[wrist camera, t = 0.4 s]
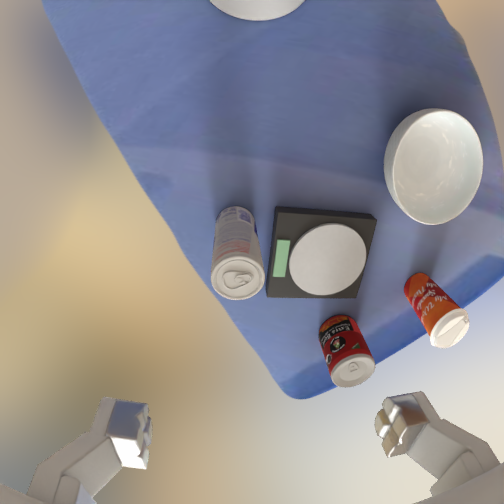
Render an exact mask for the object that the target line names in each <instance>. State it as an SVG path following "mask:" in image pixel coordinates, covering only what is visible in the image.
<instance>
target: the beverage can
mask: <svg viewBox="0 0 504 504" xmlns="http://www.w3.org/2000/svg"><path fill="white" fill-rule="evenodd" d="M264 281H265V273H264V267H263V262H262V256H261V251H260V246H259V241H258V235H257V230H256V225H255V220H254V217H253V215H252V214H251V213H250V212H249V211H248V210H247V209H245V208H242V207H237V206H234V207H229V208H226V209H225V210H223V211H222V212H221V213H220V214H219V215H218V217H217V219H216V226H215V236H214V246H213V256H212V267H211V282H212V285H213V287H214V289H215V290H216V292H217V293H219V294H220V295H221V296H223V297H225V298H228V299H232V300H242V299H247V298H250V297H252V296H254V295H255V294H256V293H258V292H259V291H260V289H261V288H262V286H263V284H264Z"/></svg>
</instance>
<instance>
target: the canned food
mask: <svg viewBox="0 0 504 504" xmlns="http://www.w3.org/2000/svg"><path fill="white" fill-rule="evenodd" d="M319 341H320V344H321V347H322V351H323V354H324V357H325V360H326V363H327V366H328V370H329V373H330V376H331V379H332V381H333V383H334V384H335V385H337V386H339V387H353V386H356V385H359V384H361V383H363V382H364V381H366V380H367V379H368V378H369V377H370V376H371V375H372V374H373V372H374V370H375V362H374V359H373V357H372V354H371V352H370V350H369V348H368V346H367V344H366V342H365V340H364V338H363V336H362V334H361V332H360V329H359V327H358V325H357V323H356V322H355V321H354V320H353V319H352V318H351V317H349V316H346V315H338V316H334V317H331V318H329V319H328V320H326V321H325V322H324V323H323V324H322V326H321V328H320V330H319Z"/></svg>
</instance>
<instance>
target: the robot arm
mask: <svg viewBox="0 0 504 504" xmlns="http://www.w3.org/2000/svg"><path fill="white" fill-rule="evenodd" d="M209 1H210V2H211V3H212V4H213V5H214V6H216V7H217V8H218V9H220V10H221V11H223V12H225V13H227V14H229V15H231V16H234V17H237V18H241V19H246V20H255V21H261V20H270V19H275V18H279V17H282V16H284V15H287V14H289V13H290V12H292V11H294V10H295V9H296V8H298V7H299V6H300V5H301V4H302V3H303V2H304V1H305V0H209ZM382 406H383V409H382V410H380V411H379V412H378V413H377V416H376V418H375V429H376V432H377V435H378V436H379V437H381V438H382V439H383V442H382V446H383V448H384V451H385V453H386V455H387V457H392V456H397V455H401V454H405V453H407V455H408V456H409V457H410V458H412V459H413V460H414V461H415V462H417V463H418V464H419V465H420V466H422V467H423V468H424V469H425V470H427V471H428V472H429V473H431V474H432V475H433V476H434V477H436V478H437V479H438V481H437V482H436V483H435V484H434V485H433V486H432V487H431V489H430V491H431V494H432V496H433V497H430V498H428V499H425V500H423V501H420V502H417V503H414V504H504V462H503V463H502V464H500V463H499V461H498V459H497V458H496V456H495V454H494V453H493V451H492V450H491V448H490V446H489V445H488V443H487V442H485V441H483V440H481V439H479V438H478V437H476V436H474V435H472V434H470V433H468V432H467V431H465V430H463V429H461V428H459V427H457V426H456V425H454V424H452V423H450V422H448V421H447V420H445V419H442V420H441V419H440V418H439V416H438V414H437V413H436V411H435V410H434V408H433V406H432V405H431V403H430V402H429V400H428V399H427V397H426V395H425V394H424V393H423V392H421V391H420V392H415V393H409V394H403V395H397V396H392V397H387V398H386V399H385V400H384V401H383V403H382ZM148 413H149V408H148V404H146V403H140V402H133V401H127V400H121V399H114V398H108V397H103V398H102V399H101V401H100V404H99V406H98V409H97V412H96V414H95V417H94V420H93V423H92V425H91V428H90V431H89V433H88V432H84V433H83V434H82V435H80V436H79V437H77V438H76V439H74V440H73V441H71V442H70V443H69V444H67V445H66V446H64V447H63V448H62V449H60V450H59V451H57V452H56V453H54V454H53V455H51V456H50V457H49V458H47V459H45V460H44V461H43V462H41V463H40V464H38V465H37V468H36V471H35V473H34V475H33V478H32V481H31V484H30V486H29V489H28V492H27V494H26V495H25V494H23V493H21V492H18V491H16V490H14V489H11V488H9V487H7V486H5V485H3V484H1V483H0V504H97V503H96V502H95V500H94V499H93V498H92V497H93V496H94V495H95V494H96V493H97V492H98V491H99V490H100V489H101V488H102V487H103V486H104V485H105V484H106V483H107V482H108V481H109V480H110V479H111V478H112V477H113V476H114V475H115V474H116V473H117V472H118V471H119V470H120V469H121V468H122V466H125V467H132V468H140V469H147V464H148V458H149V452H148V449H147V446H149V445H150V444H151V440H152V421H151V418H150V417H149V416H148Z"/></svg>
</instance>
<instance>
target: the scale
mask: <svg viewBox="0 0 504 504" xmlns="http://www.w3.org/2000/svg"><path fill="white" fill-rule="evenodd" d="M376 222H377V220H376V219H375V218H374V217H373V216H372V215H371V214H364V213H353V212H342V211H331V210H318V209H305V208H292V207H277V206H276V207H275V215H274V224H273V232H272V241H271V249H270V257H269V265H268V274H267V282H266V294H267V297H274V298H356V296H357V293H358V290H359V286H360V283H361V279H362V276H363V272H364V269H365V265H366V262H367V258H368V254H369V250H370V246H371V242H372V238H373V234H374V230H375V226H376Z"/></svg>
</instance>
